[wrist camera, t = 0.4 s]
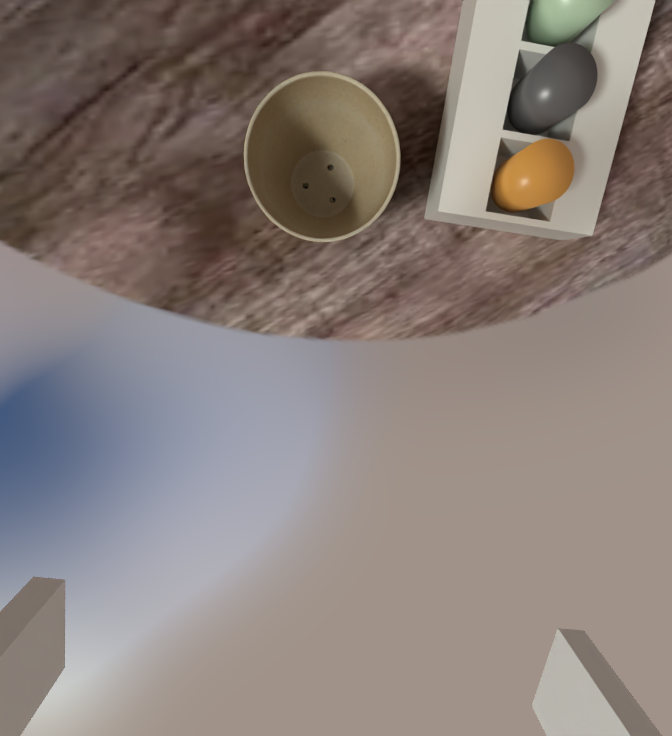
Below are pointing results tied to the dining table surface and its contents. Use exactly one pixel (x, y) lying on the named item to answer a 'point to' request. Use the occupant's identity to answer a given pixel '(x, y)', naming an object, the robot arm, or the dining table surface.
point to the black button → (553, 89)
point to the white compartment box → (501, 140)
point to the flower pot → (322, 156)
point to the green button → (560, 19)
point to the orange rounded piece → (533, 176)
